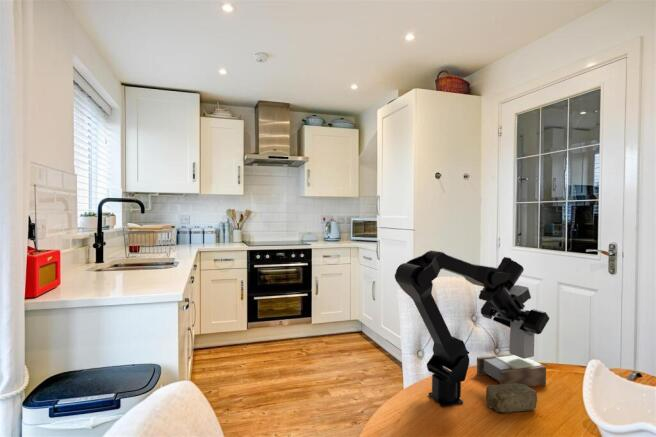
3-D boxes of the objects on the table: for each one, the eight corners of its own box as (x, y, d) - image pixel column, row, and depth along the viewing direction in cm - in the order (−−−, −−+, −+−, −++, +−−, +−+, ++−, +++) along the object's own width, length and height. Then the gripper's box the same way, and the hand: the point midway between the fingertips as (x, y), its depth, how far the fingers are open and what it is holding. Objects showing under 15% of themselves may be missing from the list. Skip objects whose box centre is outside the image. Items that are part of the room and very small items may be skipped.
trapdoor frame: (502, 390, 99) (502, 372, 99) (476, 373, 109) (476, 357, 109) (545, 384, 103) (546, 366, 103) (517, 368, 113) (517, 352, 113)
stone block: (538, 411, 89) (539, 391, 89) (497, 416, 87) (498, 395, 87) (521, 399, 95) (522, 380, 95) (482, 403, 93) (483, 384, 93)
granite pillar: (523, 358, 104) (524, 314, 104) (509, 353, 108) (510, 310, 108) (534, 356, 106) (535, 312, 106) (519, 350, 110) (520, 308, 110)
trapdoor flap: (501, 383, 101) (502, 369, 101) (482, 370, 108) (482, 358, 108) (542, 377, 104) (542, 364, 104) (520, 365, 112) (520, 354, 112)
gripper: (546, 283, 97) (569, 319, 102) (487, 272, 113) (510, 303, 118) (526, 315, 93) (551, 351, 98) (469, 299, 110) (493, 330, 115)
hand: (525, 332), depth 108 cm, fingers closed on granite pillar, 5 cm apart
